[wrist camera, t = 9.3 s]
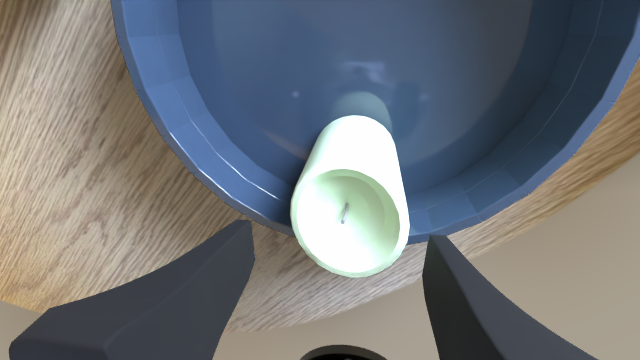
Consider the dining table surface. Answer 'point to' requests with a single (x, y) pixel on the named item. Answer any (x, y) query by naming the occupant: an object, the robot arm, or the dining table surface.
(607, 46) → the bowl
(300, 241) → the candle
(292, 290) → the dining table surface
